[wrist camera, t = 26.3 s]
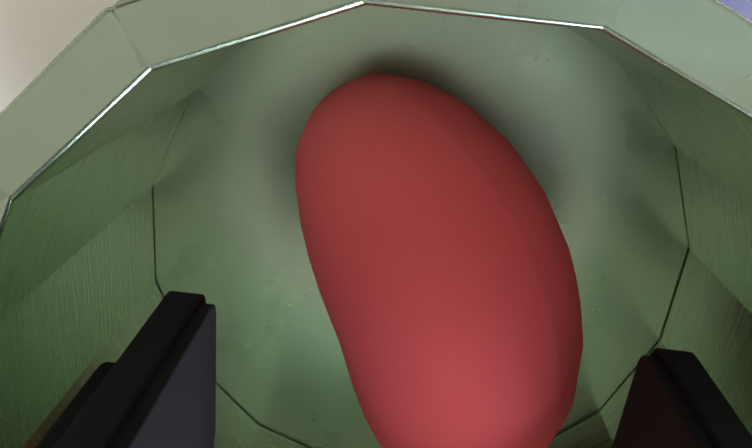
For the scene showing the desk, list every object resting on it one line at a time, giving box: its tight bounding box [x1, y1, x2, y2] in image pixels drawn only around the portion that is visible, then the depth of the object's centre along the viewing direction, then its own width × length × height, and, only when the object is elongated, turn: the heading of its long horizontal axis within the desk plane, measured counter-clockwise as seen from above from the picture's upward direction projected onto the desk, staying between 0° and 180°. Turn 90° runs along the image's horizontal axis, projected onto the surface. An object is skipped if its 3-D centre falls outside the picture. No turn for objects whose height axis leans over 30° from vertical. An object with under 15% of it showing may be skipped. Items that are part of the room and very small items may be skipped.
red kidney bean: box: [295, 73, 583, 448], centre depth 13 cm, size 5×9×6 cm, turn 3°
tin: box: [0, 0, 752, 448], centre depth 13 cm, size 14×14×8 cm
